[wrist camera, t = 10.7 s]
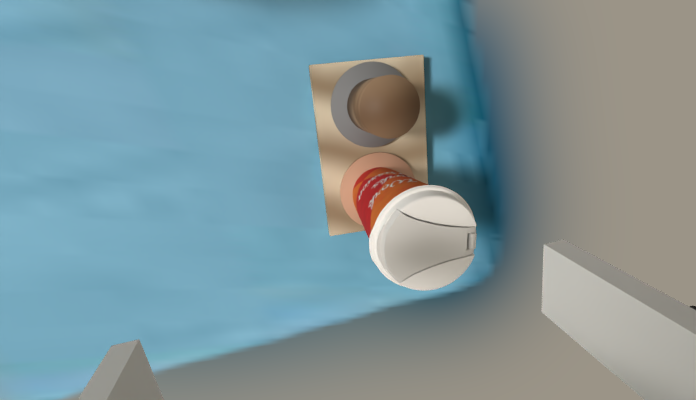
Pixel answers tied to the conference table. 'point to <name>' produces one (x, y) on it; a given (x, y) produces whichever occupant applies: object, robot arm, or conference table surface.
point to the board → (343, 152)
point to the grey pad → (341, 98)
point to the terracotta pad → (362, 166)
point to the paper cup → (415, 228)
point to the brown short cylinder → (384, 106)
